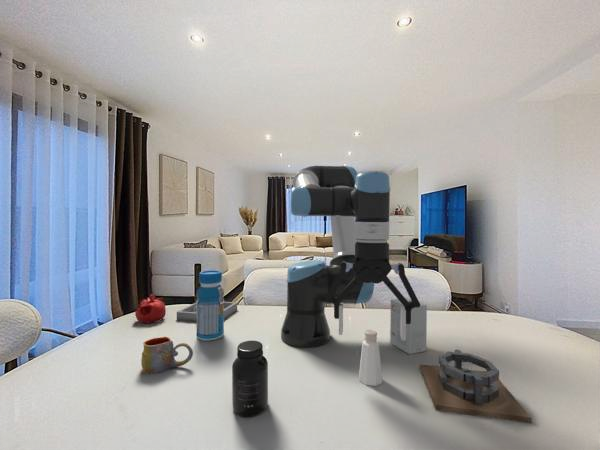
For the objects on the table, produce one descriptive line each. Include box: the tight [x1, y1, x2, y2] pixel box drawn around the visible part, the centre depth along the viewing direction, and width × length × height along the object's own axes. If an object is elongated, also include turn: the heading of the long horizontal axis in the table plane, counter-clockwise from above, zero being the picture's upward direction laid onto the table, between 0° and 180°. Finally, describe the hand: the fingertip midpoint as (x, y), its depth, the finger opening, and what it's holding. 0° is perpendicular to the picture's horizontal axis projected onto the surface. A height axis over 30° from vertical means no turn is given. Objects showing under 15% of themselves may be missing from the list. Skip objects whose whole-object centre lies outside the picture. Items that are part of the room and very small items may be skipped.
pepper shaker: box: [358, 329, 383, 387], centre depth 65 cm, size 5×5×11 cm
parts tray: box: [176, 301, 238, 323], centre depth 109 cm, size 16×16×3 cm
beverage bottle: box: [195, 269, 226, 342], centre depth 89 cm, size 8×8×20 cm
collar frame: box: [438, 349, 500, 406], centre depth 61 cm, size 10×13×5 cm
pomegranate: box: [135, 294, 167, 324], centre depth 103 cm, size 10×10×9 cm
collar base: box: [419, 363, 533, 424], centre depth 61 cm, size 16×16×1 cm
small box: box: [389, 297, 428, 355], centre depth 82 cm, size 8×6×13 cm
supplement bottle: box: [231, 340, 269, 418], centre depth 55 cm, size 7×7×12 cm
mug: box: [140, 336, 194, 374], centre depth 70 cm, size 12×7×7 cm, turn 88°
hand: (371, 335), depth 65 cm, fingers open, 13 cm apart
